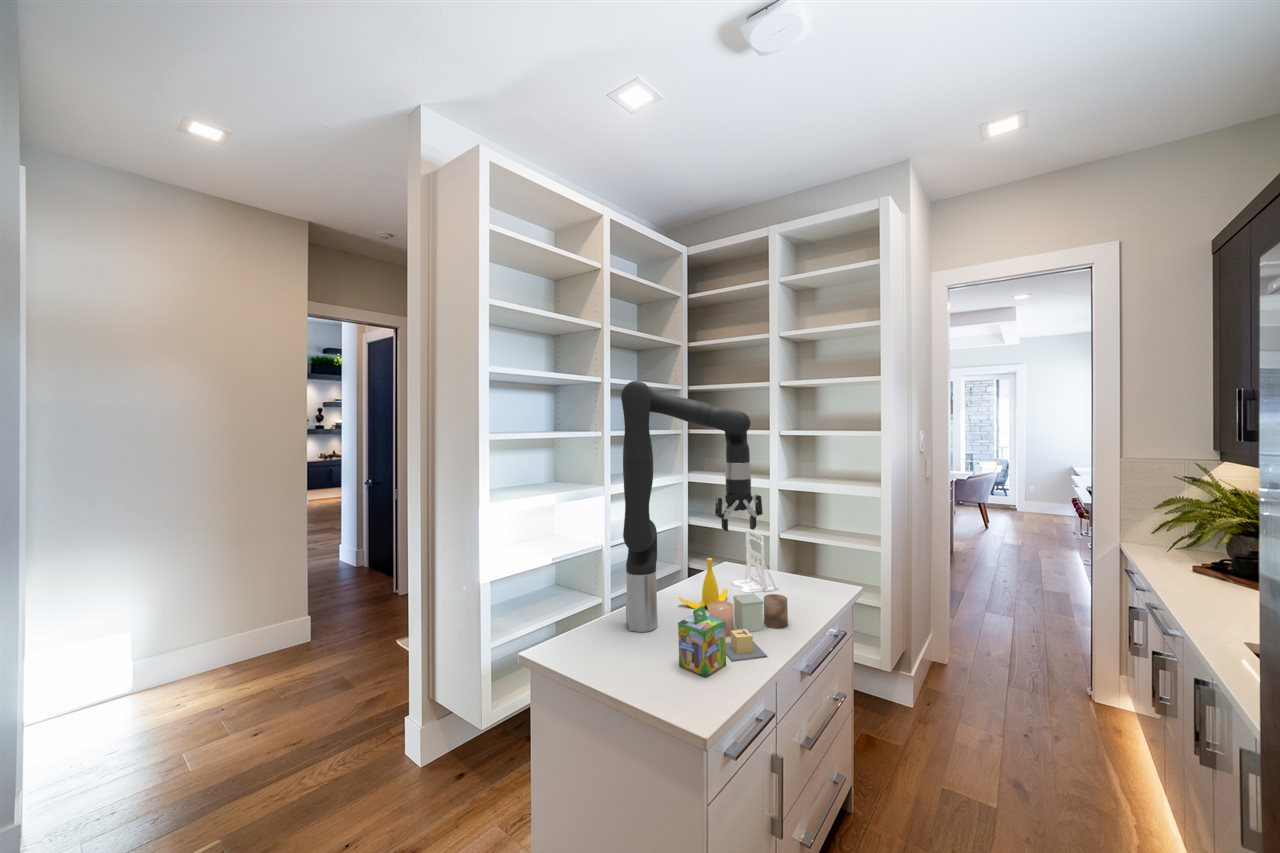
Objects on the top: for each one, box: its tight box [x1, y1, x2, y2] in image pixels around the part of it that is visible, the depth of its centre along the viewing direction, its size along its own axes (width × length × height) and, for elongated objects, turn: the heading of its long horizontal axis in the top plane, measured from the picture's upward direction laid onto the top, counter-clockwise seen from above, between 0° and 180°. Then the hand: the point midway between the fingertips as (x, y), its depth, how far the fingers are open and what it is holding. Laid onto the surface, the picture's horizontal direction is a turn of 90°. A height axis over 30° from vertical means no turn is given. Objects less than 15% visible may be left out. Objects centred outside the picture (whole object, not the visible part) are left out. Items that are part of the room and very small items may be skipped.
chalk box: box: [677, 606, 727, 678], centre depth 133 cm, size 9×9×15 cm
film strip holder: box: [731, 528, 780, 594], centre depth 193 cm, size 14×14×20 cm
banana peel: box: [678, 557, 728, 612], centre depth 171 cm, size 17×19×17 cm
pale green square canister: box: [732, 593, 764, 633], centre depth 156 cm, size 7×7×9 cm
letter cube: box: [730, 629, 754, 654], centre depth 141 cm, size 4×4×5 cm
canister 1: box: [708, 600, 735, 638], centre depth 153 cm, size 7×7×8 cm
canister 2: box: [763, 593, 789, 630], centre depth 158 cm, size 7×7×8 cm
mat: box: [726, 641, 768, 662], centre depth 141 cm, size 10×10×1 cm
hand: (739, 530), depth 157 cm, fingers open, 8 cm apart
